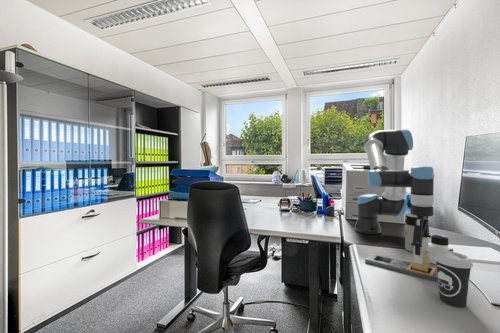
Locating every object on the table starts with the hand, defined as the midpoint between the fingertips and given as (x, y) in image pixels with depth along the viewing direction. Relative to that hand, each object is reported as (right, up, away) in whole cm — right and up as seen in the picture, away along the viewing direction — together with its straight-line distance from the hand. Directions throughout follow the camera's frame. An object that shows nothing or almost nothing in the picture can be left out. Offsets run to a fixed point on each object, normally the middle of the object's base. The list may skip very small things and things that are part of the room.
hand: (421, 257), depth 98 cm
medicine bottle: (+15, -6, +10) cm, 19 cm away
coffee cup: (-4, -7, -20) cm, 21 cm away
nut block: (0, -6, 0) cm, 6 cm away
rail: (-5, -6, +5) cm, 9 cm away
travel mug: (+14, -6, +25) cm, 29 cm away
